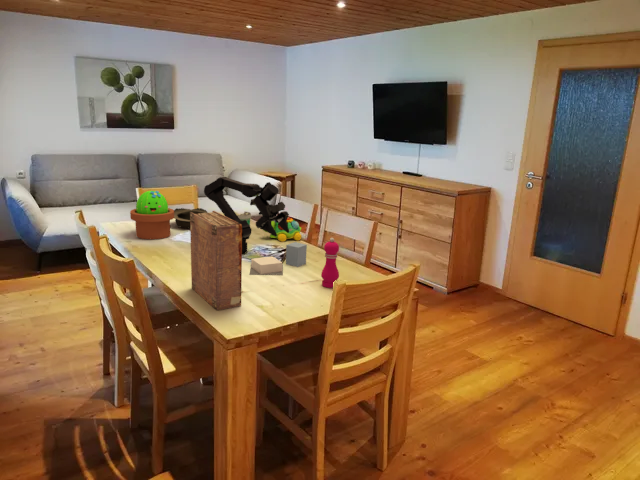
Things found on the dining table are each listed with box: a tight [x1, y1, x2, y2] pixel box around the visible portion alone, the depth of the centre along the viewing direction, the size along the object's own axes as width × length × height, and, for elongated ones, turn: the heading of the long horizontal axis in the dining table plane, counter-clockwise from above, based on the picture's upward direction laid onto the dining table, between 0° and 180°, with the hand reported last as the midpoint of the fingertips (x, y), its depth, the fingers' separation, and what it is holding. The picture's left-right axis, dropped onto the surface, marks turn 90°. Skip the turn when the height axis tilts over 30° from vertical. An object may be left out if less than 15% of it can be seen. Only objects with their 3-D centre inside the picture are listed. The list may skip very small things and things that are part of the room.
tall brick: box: [285, 241, 308, 268], centre depth 219 cm, size 7×7×10 cm
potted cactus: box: [129, 190, 175, 240], centre depth 257 cm, size 22×22×25 cm
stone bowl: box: [173, 207, 209, 230], centre depth 284 cm, size 25×25×9 cm
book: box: [189, 210, 243, 311], centre depth 176 cm, size 25×9×30 cm, turn 34°
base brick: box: [250, 256, 283, 274], centre depth 209 cm, size 10×10×4 cm
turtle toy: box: [262, 216, 303, 243], centre depth 266 cm, size 17×23×12 cm
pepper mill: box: [320, 237, 340, 289], centre depth 195 cm, size 7×7×20 cm
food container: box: [236, 211, 253, 226], centre depth 279 cm, size 12×6×10 cm, turn 168°
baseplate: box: [248, 264, 284, 276], centre depth 210 cm, size 14×15×1 cm
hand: (282, 234), depth 221 cm, fingers open, 9 cm apart
